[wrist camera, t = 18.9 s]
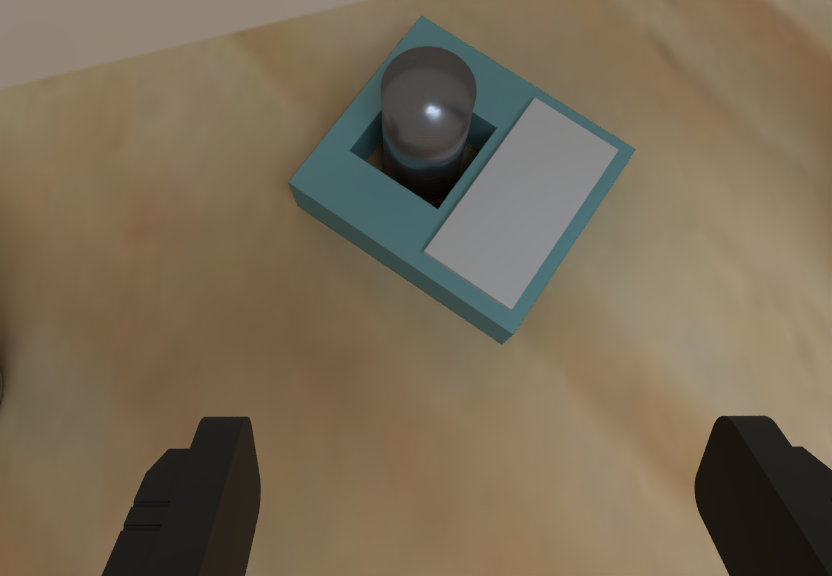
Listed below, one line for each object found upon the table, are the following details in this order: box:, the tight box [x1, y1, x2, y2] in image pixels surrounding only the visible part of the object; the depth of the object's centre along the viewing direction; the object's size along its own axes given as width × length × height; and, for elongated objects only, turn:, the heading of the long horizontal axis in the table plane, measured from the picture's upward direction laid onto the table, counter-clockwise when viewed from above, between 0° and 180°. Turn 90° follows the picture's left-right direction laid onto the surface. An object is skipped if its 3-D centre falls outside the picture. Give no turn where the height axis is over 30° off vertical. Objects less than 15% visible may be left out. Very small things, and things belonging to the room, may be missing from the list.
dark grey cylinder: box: [381, 46, 477, 202], centre depth 38 cm, size 5×5×10 cm
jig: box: [288, 16, 636, 344], centre depth 41 cm, size 16×14×5 cm
